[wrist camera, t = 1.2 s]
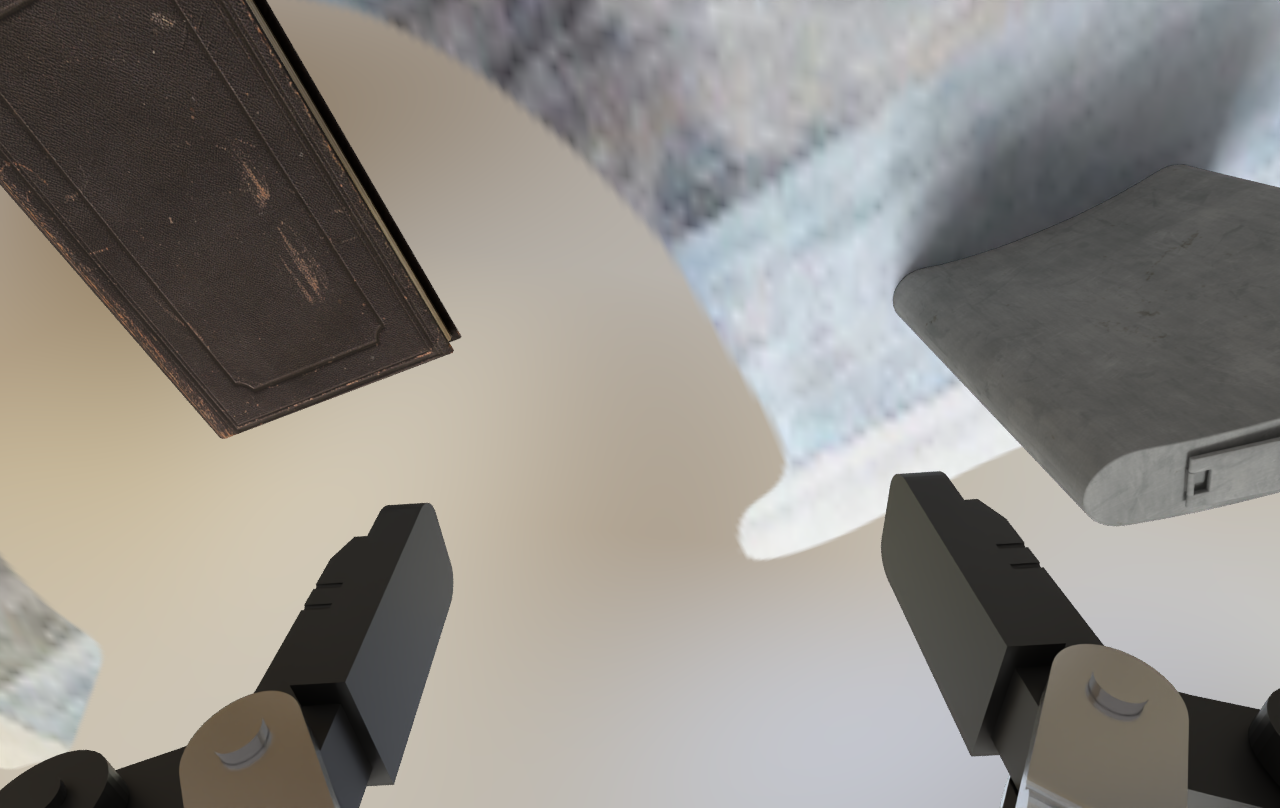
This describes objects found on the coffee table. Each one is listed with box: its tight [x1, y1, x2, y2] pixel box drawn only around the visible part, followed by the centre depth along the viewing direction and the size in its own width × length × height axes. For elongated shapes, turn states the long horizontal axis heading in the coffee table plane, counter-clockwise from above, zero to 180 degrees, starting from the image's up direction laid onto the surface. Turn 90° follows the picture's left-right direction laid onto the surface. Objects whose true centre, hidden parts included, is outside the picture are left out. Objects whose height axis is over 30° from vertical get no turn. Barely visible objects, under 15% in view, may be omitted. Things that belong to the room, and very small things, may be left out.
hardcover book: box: [0, 0, 461, 439], centre depth 32 cm, size 16×23×2 cm
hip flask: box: [893, 164, 1280, 526], centre depth 26 cm, size 16×4×20 cm, turn 115°
